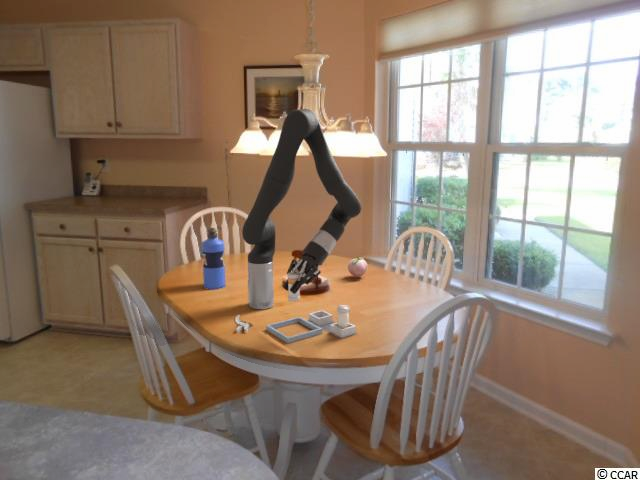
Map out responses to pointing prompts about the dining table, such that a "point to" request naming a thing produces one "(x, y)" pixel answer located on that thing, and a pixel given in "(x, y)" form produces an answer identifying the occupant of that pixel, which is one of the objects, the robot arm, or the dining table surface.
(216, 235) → the water bottle
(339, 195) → the robot arm
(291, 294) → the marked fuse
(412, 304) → the dining table surface
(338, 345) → the dining table surface
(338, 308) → the fuse
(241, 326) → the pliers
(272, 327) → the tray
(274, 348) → the dining table surface
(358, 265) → the decorative fruit
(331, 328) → the fuse holder
